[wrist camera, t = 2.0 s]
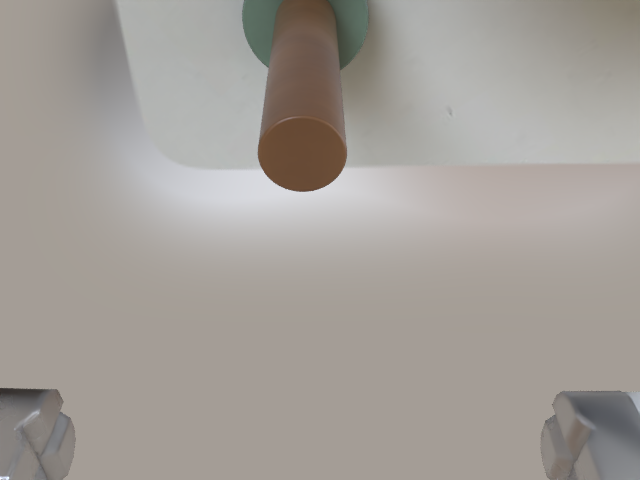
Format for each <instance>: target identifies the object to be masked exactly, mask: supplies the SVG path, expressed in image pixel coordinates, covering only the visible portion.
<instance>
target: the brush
mask: <svg viewBox="0 0 640 480" xmlns="http://www.w3.org/2000/svg"><path fill="white" fill-rule="evenodd" d="M242 21H243V29H244V32H245V36H246V39H247V41H248V44H249V46H250V47H251V49H252V51H253V52H254V54H255V55H256V56H257V58H258V59H259V60H260V61H261V62H262V63H263V64H264V65H266V66H267V67H268V68H269V69H268V77H267V84H266V92H265V100H264V107H263V115H262V123H261V130H260V138H259V145H258V159H259V162H260V165H261V167H262V169H263V171H264V173H265V174H266V175H267V176H268V177H269V178H270V179H271V180H272V181H273V182H274V183H276V184H277V185H279V186H281V187H283V188H285V189H288V190H293V191H299V192H306V191H314V190H317V189H320V188H323V187H325V186H327V185H329V184H330V183H331V182H333V181H334V180H335V179H336V178H337V177H338V176H339V174H340V173H341V171H342V170H343V168H344V166H345V163H346V158H347V147H346V135H345V123H344V111H343V99H342V87H341V75H340V70H341V69H343V68H344V67H345V66H346V65H348V64H349V63H350V62H351V61H352V60H353V59H354V57H355V56H356V55H357V53H358V52H359V50H360V48H361V47H362V45H363V42H364V40H365V37H366V33H367V29H368V6H367V1H366V0H244V4H243V11H242Z"/></svg>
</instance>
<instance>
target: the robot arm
mask: <svg viewBox="0 0 640 480" xmlns="http://www.w3.org/2000/svg"><path fill="white" fill-rule="evenodd" d="M62 404H63V400H62V398H61V396H60V394H59V392H58V390H57V389H13V388H0V480H62V479H63V478H64V477H66V476H67V475H68V472H69V469H70V466H71V463H72V460H73V456H74V448H75V430H74V426H73V423H72V421H71V418H70V417H68V416H66V415H65V414H63V413H62V412H60V409H61V407H62ZM552 405H553V408H554V411H555V415H554V416H552V417H551V418H549V419H548V420H546V421H545V424H544V426H543V429H542V432H541V454H542V460H543V465H544V468H545V471H546V475H547V477H548V478H549V479H550V480H640V392H621V391H571V392H570V391H563V392H560V393H559V394H557V395H556V398H555V400H554V402H553V404H552Z"/></svg>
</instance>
